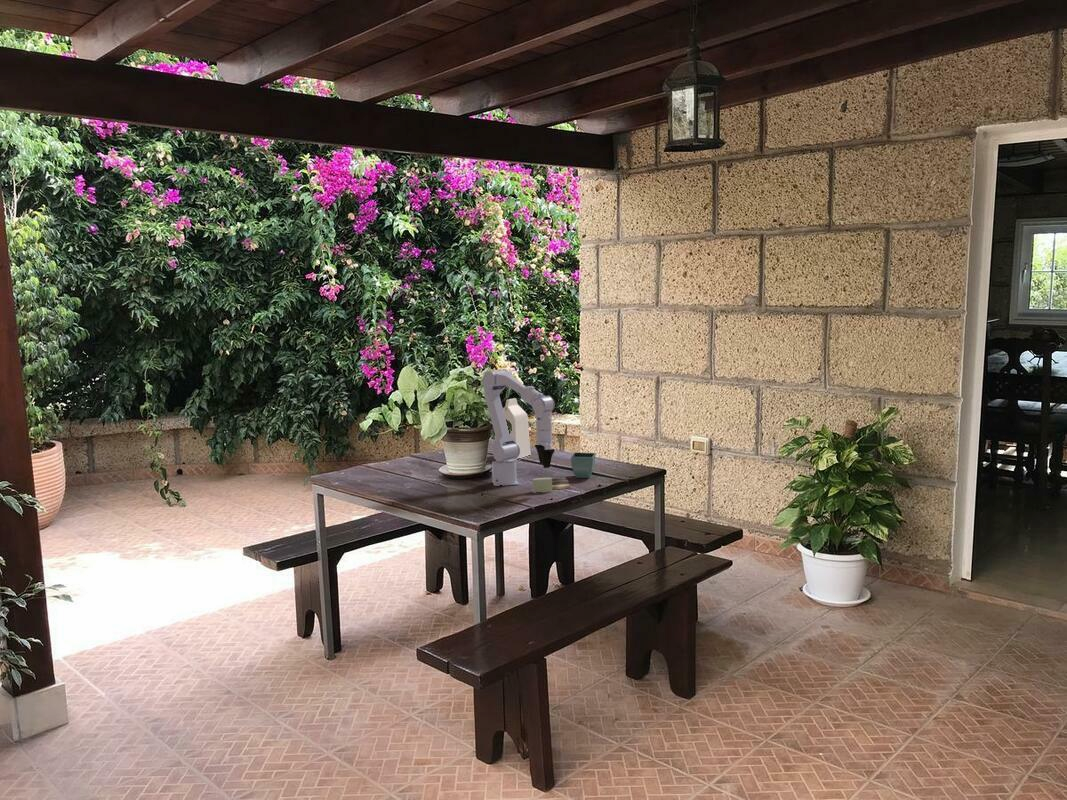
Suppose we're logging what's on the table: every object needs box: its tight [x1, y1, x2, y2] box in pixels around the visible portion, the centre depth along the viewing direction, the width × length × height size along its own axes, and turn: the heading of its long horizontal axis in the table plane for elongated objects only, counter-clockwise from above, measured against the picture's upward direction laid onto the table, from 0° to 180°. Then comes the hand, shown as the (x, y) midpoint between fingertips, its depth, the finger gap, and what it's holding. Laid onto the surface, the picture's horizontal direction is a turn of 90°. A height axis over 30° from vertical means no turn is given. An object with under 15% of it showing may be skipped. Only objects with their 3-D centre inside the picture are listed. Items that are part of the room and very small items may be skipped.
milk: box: [494, 397, 532, 459], centre depth 385 cm, size 12×12×26 cm
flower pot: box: [570, 452, 596, 479], centre depth 342 cm, size 9×9×9 cm
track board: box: [551, 477, 571, 490], centre depth 329 cm, size 10×12×2 cm
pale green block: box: [531, 477, 553, 494], centre depth 320 cm, size 7×2×5 cm, turn 99°
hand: (544, 465), depth 320 cm, fingers open, 7 cm apart
